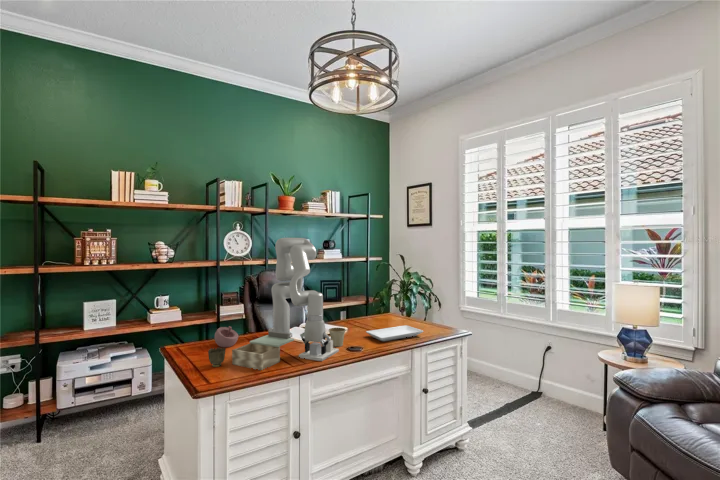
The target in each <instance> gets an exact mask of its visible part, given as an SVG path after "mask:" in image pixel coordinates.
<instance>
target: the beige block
mask: <svg viewBox="0 0 720 480" xmlns="http://www.w3.org/2000/svg"><path fill="white" fill-rule="evenodd" d="M325 341H327V339H325ZM333 348H334V346H333V340H331V339H330V341H329V343H328V344H327V345H326V352H331V351H332V350H333Z"/></svg>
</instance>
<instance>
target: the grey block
mask: <svg viewBox="0 0 720 480" xmlns="http://www.w3.org/2000/svg"><path fill="white" fill-rule="evenodd" d="M321 346H322V344H321V343H320V342H312V343H310V355H316V356H317V355H319V354H321Z"/></svg>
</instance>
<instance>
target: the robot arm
mask: <svg viewBox="0 0 720 480" xmlns="http://www.w3.org/2000/svg"><path fill="white" fill-rule="evenodd" d="M274 246H275V254H276V263H275V264H276V266H275V279H276V280H277V281H280V282H276V283H274V284H273V285H272V286H271V297H272V312H273V313H272V321H273V322H272V326H273V327H269V328H268V332H269V331H274V332H282V333H289V334H290V338H291V336H292V337H293V333H292V332H290V331H291V330H290V329H291V328H290V327H291V325H290V324H291V322H290V321H291V318H290V317H291V315H290V313H291V312H290V311H291V310H290V309H291V306H290V303H289V301H287V300H286V299H291V303H292V304H293V306H295V307H306V306H307V314H305V318H307V319H306V320H305V325H304V332H302V333H300V334H299V335H300V337H301V341H302V342H303V344H304V352H308V351H310V344H311V343H310V342H312V343H314V342H315V343H321V346H322V347H321V354H322V355H323V354H325V353H326V345H327V344H328V343H329V341H330V340H331V337H330V335H328V334H327V333H326V332H327V330H326V324H325V320H324V295H323V293H322V292H319V291H316V290H314V289H313V290H302V287H303V280H304V279H303V278H305V277H306V276H308V275H309V274H310V273H311V268H310V264H309V261H312V260H315V259H316V258H317V249H316V247H315V246H314V244H313V243H311V241H309V240H308V239H307V238H305V237H281V238H278V239H277V240H276V242H275V245H274ZM325 340H327V341H325Z"/></svg>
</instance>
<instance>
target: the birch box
mask: <svg viewBox="0 0 720 480" xmlns="http://www.w3.org/2000/svg"><path fill="white" fill-rule="evenodd" d="M231 350H232V351H231V365H234V366H239V367H244V368H248V369H251V368H253V369H252V370H256V369H258V370H257V371H261V370H262V371H264V370H266V369H268V368H271V367H272V366H274V365H276V364H278V363H280V362H281V346H280V347H273V346H266V345H260V344H253V343H247V344H245V345H242V346H239V347H237V348H234V349H231ZM267 367H268V368H267ZM265 368H266V369H265ZM263 369H264V370H263Z"/></svg>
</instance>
